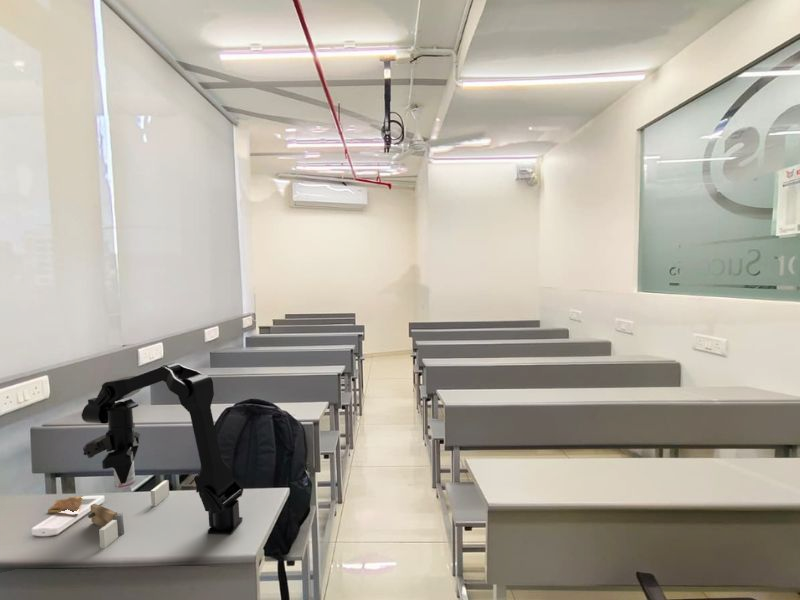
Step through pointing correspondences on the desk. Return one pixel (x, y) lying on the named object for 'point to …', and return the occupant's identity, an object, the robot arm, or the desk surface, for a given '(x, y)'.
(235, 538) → the desk surface
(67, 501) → the shard
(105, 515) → the wooden plank
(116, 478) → the pill bottle
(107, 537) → the pair of white blocks
